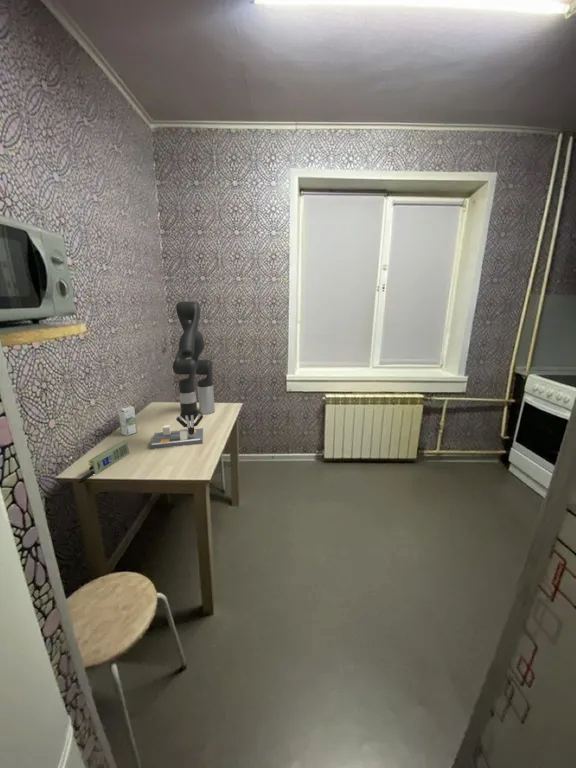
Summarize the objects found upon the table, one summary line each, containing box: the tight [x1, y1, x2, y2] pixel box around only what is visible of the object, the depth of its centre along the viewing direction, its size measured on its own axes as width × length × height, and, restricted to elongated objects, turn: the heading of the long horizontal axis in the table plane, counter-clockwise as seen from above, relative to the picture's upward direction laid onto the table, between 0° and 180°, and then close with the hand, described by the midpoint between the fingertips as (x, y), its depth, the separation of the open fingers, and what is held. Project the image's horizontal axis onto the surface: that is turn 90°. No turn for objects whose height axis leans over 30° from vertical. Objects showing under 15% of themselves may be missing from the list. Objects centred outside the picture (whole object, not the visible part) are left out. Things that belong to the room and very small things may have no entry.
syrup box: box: [117, 405, 138, 437], centre depth 165 cm, size 6×6×14 cm
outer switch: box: [179, 428, 188, 440], centre depth 154 cm, size 4×3×4 cm
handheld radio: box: [79, 439, 130, 482], centre depth 133 cm, size 7×3×25 cm
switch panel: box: [149, 427, 204, 450], centre depth 158 cm, size 15×24×2 cm, turn 104°
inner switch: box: [162, 424, 172, 435], centre depth 160 cm, size 4×3×4 cm
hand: (191, 434), depth 155 cm, fingers closed
